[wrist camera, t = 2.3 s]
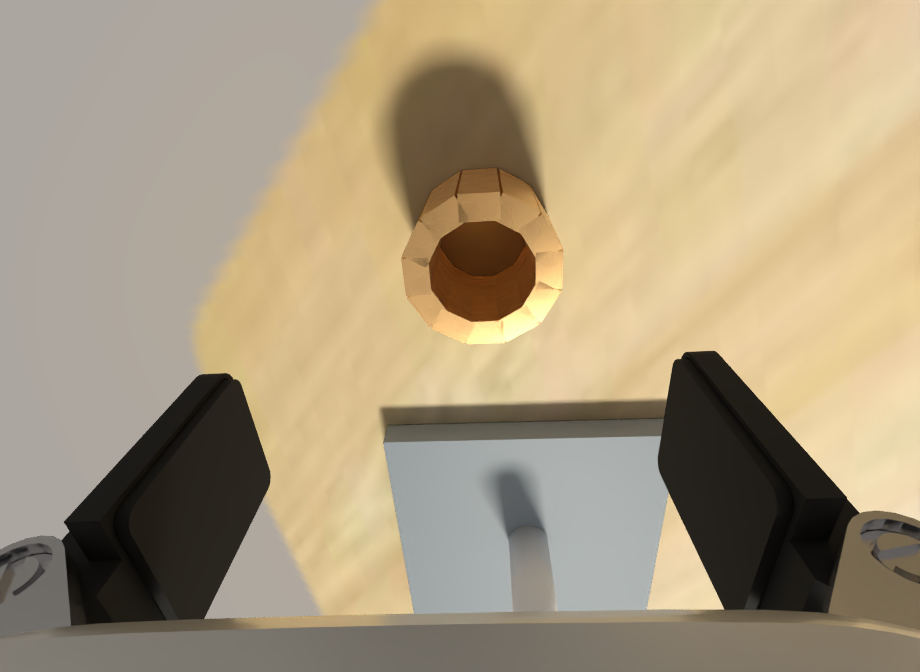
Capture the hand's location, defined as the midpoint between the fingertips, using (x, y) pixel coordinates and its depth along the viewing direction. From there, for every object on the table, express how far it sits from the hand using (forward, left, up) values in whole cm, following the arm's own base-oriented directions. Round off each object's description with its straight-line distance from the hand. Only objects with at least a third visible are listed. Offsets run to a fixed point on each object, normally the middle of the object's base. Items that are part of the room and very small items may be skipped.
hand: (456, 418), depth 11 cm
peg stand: (-3, +19, -14) cm, 24 cm away
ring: (-1, 0, -14) cm, 14 cm away
